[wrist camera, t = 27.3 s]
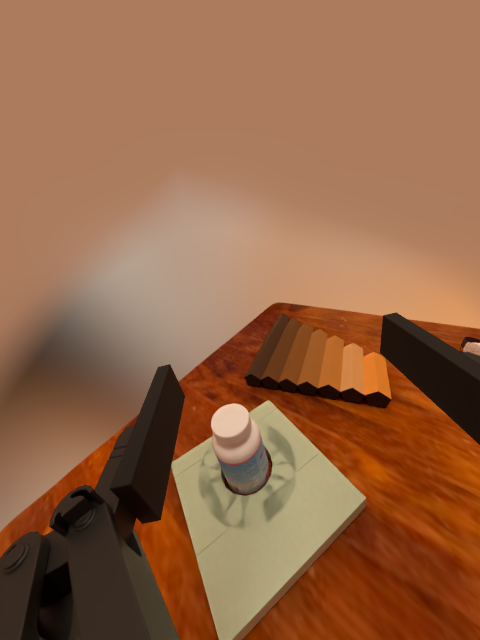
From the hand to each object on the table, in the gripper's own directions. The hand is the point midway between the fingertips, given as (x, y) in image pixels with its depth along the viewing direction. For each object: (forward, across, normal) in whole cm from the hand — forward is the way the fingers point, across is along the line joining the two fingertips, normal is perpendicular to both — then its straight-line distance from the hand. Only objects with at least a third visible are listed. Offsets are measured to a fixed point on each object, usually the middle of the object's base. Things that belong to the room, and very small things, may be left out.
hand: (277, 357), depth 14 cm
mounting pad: (+5, -5, -24) cm, 25 cm away
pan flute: (+29, +12, -24) cm, 40 cm away
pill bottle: (+7, -6, -24) cm, 26 cm away
